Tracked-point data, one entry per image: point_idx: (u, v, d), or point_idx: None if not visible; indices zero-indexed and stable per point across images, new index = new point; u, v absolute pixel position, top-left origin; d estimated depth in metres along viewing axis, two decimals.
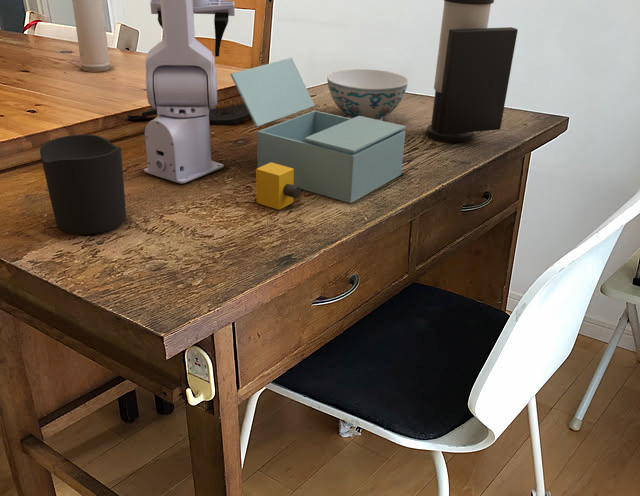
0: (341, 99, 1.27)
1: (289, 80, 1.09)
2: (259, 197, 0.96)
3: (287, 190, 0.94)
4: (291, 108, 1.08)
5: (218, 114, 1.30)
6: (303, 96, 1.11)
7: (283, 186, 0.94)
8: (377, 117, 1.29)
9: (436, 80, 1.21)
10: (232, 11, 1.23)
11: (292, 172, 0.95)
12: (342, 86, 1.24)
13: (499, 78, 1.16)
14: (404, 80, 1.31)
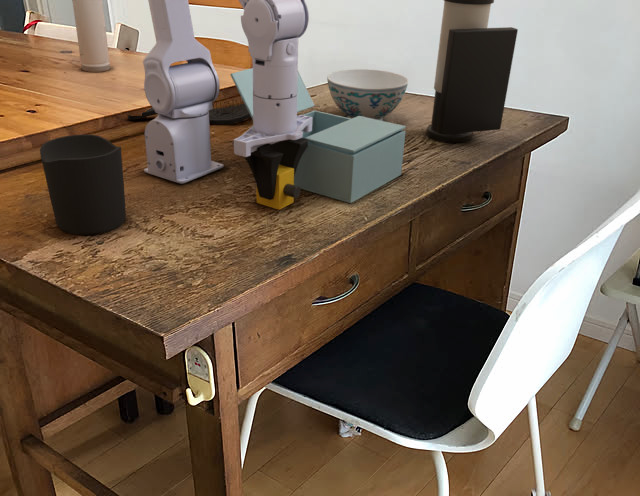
0: (341, 99, 1.27)
1: None
2: (259, 197, 0.96)
3: (287, 190, 0.94)
4: None
5: (218, 114, 1.30)
6: (303, 96, 1.11)
7: (283, 186, 0.94)
8: (377, 117, 1.29)
9: (436, 80, 1.21)
10: None
11: (292, 172, 0.95)
12: (342, 86, 1.24)
13: (499, 78, 1.16)
14: (404, 80, 1.31)
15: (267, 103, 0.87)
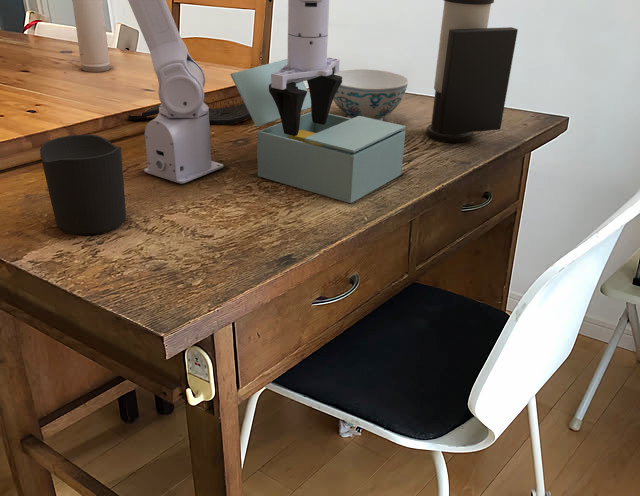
0: (341, 99, 1.27)
1: None
2: None
3: None
4: None
5: (218, 114, 1.30)
6: None
7: None
8: (377, 117, 1.29)
9: (436, 80, 1.21)
10: None
11: None
12: (342, 86, 1.24)
13: (499, 78, 1.16)
14: (404, 80, 1.31)
15: (301, 41, 0.97)
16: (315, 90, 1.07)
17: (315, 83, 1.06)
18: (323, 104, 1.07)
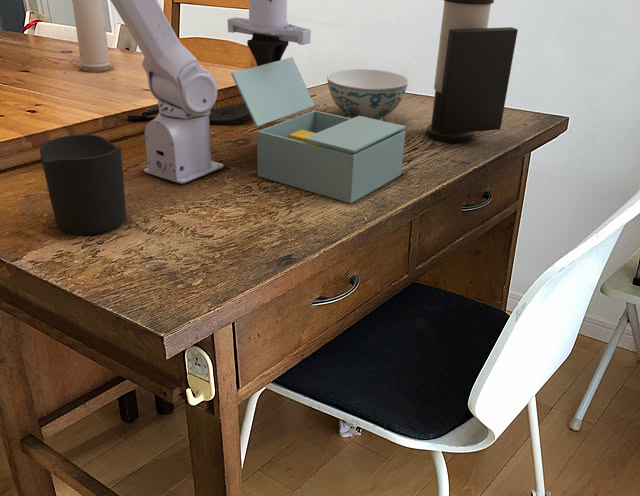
0: (341, 99, 1.27)
1: (290, 80, 1.09)
2: None
3: None
4: (291, 108, 1.08)
5: (218, 114, 1.30)
6: (303, 96, 1.11)
7: None
8: (377, 117, 1.29)
9: (436, 80, 1.21)
10: (301, 39, 1.03)
11: None
12: (342, 86, 1.24)
13: (499, 78, 1.16)
14: (404, 80, 1.31)
15: None
16: None
17: None
18: None
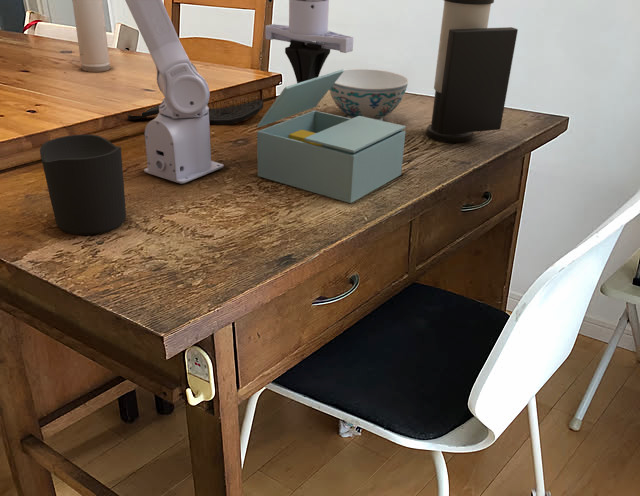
0: (341, 99, 1.27)
1: (320, 90, 1.07)
2: None
3: None
4: (296, 111, 1.08)
5: (218, 114, 1.30)
6: (315, 101, 1.10)
7: None
8: (377, 117, 1.29)
9: (436, 80, 1.21)
10: (343, 47, 0.99)
11: None
12: (342, 86, 1.24)
13: (499, 78, 1.16)
14: (404, 80, 1.31)
15: (327, 4, 1.00)
16: None
17: None
18: None
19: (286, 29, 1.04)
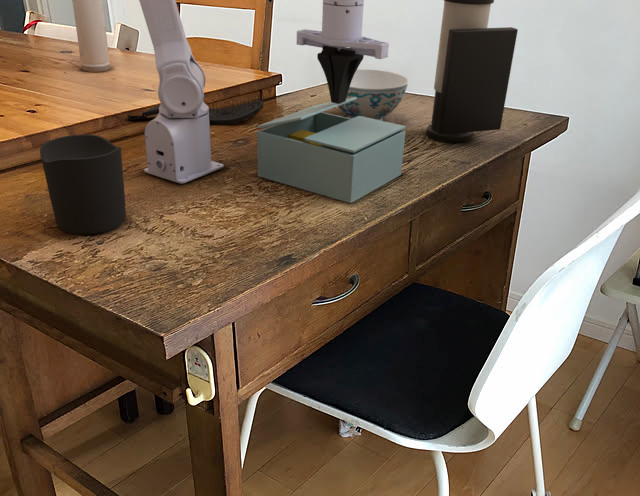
0: None
1: None
2: None
3: None
4: None
5: (218, 114, 1.30)
6: None
7: None
8: (377, 117, 1.29)
9: (436, 80, 1.21)
10: (379, 53, 0.96)
11: None
12: None
13: (499, 78, 1.16)
14: (404, 80, 1.31)
15: (362, 9, 0.97)
16: None
17: None
18: None
19: (318, 34, 1.01)
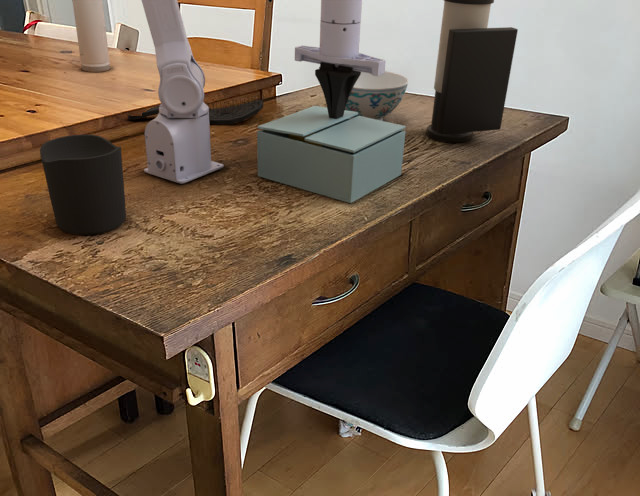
0: None
1: None
2: None
3: None
4: None
5: (218, 114, 1.30)
6: None
7: None
8: (377, 117, 1.29)
9: (436, 80, 1.21)
10: (376, 70, 0.98)
11: None
12: None
13: (499, 78, 1.16)
14: (404, 80, 1.31)
15: (359, 26, 0.98)
16: None
17: None
18: None
19: (316, 51, 1.03)
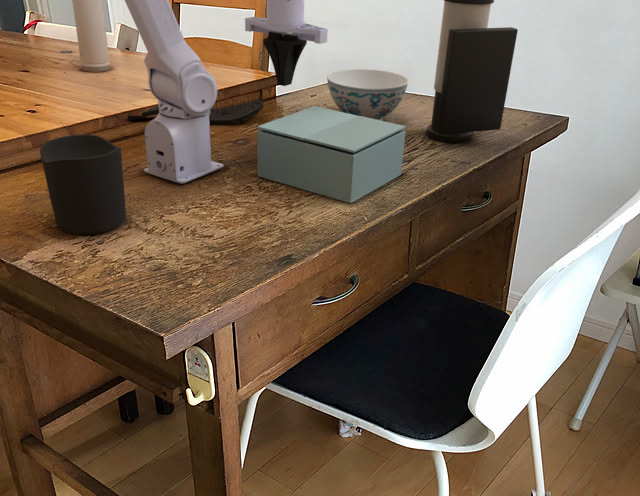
0: (341, 99, 1.27)
1: None
2: None
3: None
4: None
5: (218, 114, 1.30)
6: None
7: None
8: (377, 117, 1.29)
9: (436, 80, 1.21)
10: (318, 38, 1.04)
11: None
12: (342, 86, 1.24)
13: (499, 78, 1.16)
14: (404, 80, 1.31)
15: None
16: None
17: None
18: None
19: (264, 21, 1.09)
